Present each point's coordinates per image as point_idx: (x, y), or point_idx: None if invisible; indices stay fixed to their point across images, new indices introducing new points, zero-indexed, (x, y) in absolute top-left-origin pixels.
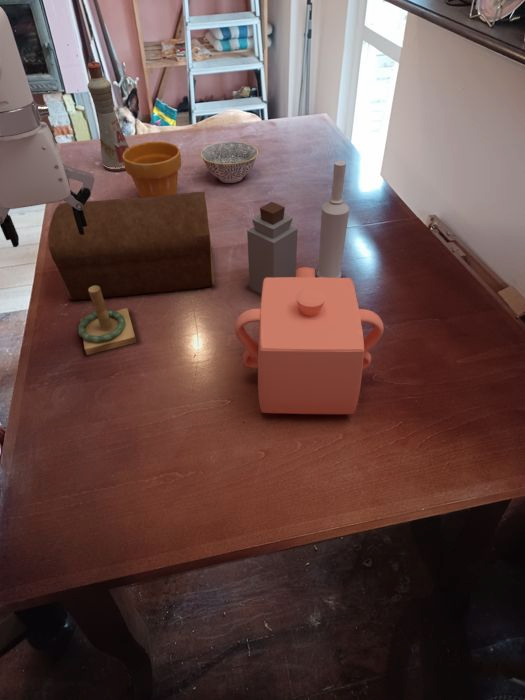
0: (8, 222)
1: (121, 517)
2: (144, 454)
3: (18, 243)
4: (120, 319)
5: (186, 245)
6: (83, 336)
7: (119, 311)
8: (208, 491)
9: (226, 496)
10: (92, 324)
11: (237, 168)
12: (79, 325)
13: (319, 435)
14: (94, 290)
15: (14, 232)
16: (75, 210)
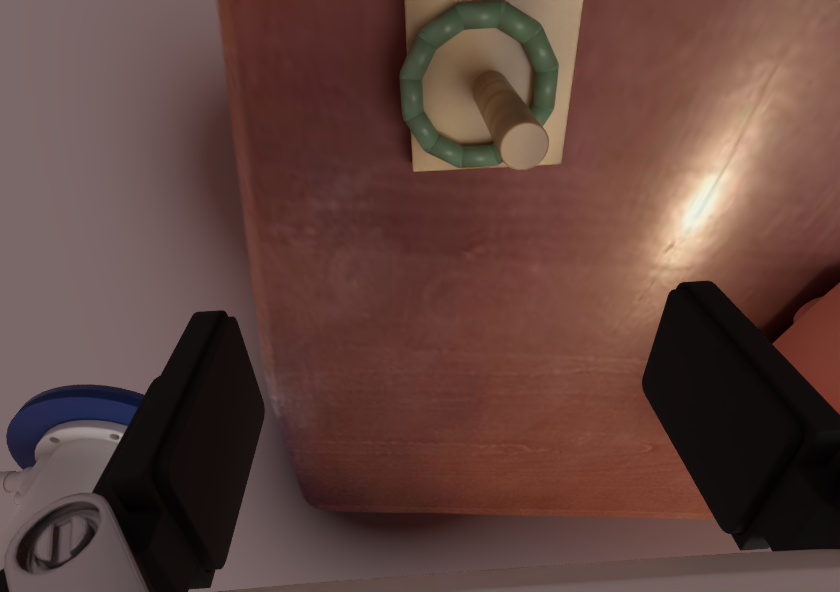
0: (208, 564)
1: (439, 474)
2: (488, 416)
3: (258, 389)
4: (546, 95)
5: None
6: (416, 138)
7: (551, 5)
8: (553, 471)
9: (571, 479)
10: (446, 55)
11: None
12: (407, 79)
13: None
14: (523, 159)
15: (235, 440)
16: (762, 537)
